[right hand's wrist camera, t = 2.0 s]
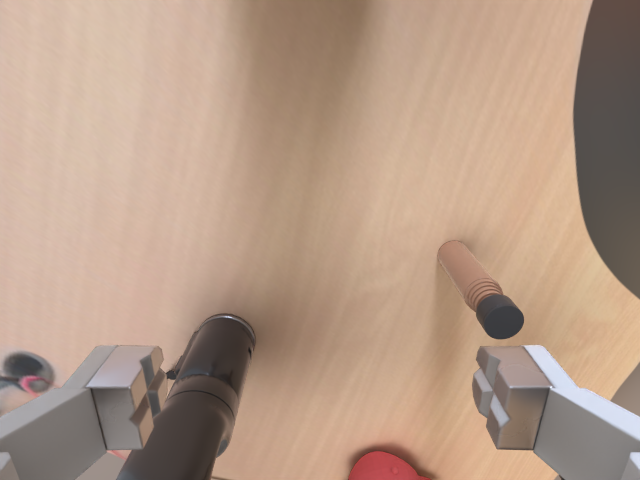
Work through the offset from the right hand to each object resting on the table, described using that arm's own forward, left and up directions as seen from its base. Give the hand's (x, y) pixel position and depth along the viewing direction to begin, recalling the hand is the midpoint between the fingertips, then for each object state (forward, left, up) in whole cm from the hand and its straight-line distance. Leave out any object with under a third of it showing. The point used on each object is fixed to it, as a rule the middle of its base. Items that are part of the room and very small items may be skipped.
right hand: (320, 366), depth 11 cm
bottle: (+18, +20, -48) cm, 55 cm away
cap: (+18, +20, -30) cm, 40 cm away
